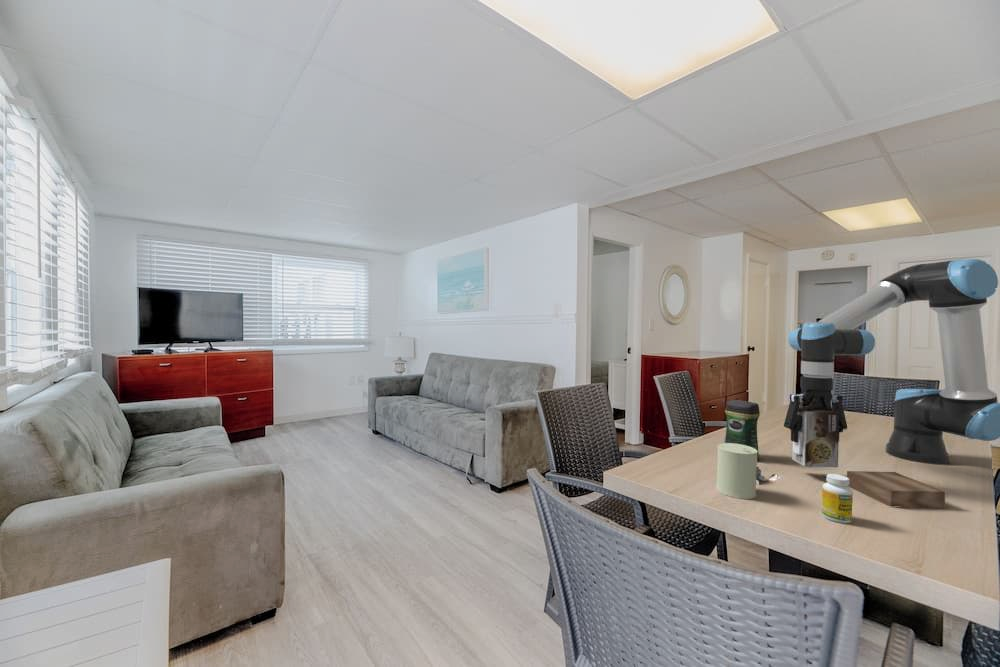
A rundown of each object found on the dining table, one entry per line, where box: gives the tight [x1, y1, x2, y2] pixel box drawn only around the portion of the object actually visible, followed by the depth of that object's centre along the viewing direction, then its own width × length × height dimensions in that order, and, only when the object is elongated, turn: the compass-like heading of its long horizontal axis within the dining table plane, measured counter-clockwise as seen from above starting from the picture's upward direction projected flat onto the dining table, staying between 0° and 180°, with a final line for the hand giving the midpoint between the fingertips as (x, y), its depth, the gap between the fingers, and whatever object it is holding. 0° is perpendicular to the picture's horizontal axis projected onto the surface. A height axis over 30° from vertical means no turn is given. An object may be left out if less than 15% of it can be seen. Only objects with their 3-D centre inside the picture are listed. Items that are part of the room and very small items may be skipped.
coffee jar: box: [724, 399, 761, 459], centre depth 137 cm, size 10×8×19 cm
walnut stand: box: [846, 470, 946, 509], centre depth 107 cm, size 13×13×4 cm
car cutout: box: [756, 466, 781, 486], centre depth 118 cm, size 15×7×4 cm, turn 127°
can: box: [715, 442, 759, 500], centre depth 108 cm, size 9×9×12 cm
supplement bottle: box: [821, 473, 854, 524], centre depth 94 cm, size 5×5×10 cm
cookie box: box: [791, 406, 840, 468], centre depth 120 cm, size 9×6×16 cm
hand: (814, 452), depth 120 cm, fingers closed on cookie box, 9 cm apart
